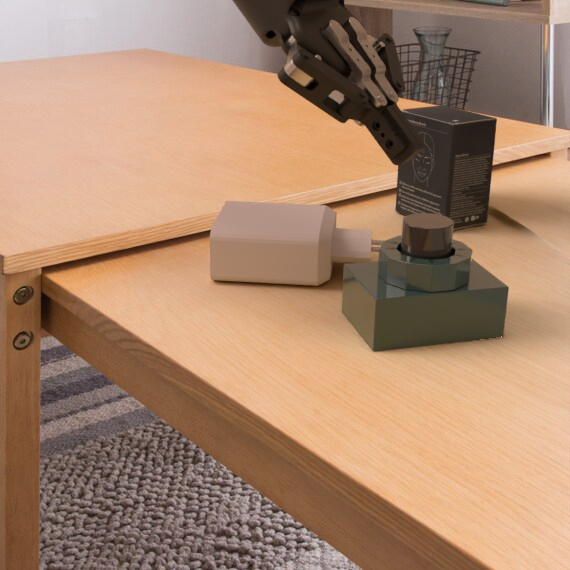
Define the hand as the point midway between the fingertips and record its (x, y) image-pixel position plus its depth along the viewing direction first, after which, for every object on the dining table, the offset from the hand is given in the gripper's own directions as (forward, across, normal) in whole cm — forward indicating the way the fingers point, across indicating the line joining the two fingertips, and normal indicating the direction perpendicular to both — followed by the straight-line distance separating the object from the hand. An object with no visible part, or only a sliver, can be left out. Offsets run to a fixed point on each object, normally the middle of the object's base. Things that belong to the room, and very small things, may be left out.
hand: (411, 156), depth 65 cm
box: (+3, +24, +15) cm, 29 cm away
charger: (+1, +4, +17) cm, 18 cm away
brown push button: (+6, 0, +4) cm, 7 cm away
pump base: (+10, 0, +8) cm, 13 cm away
